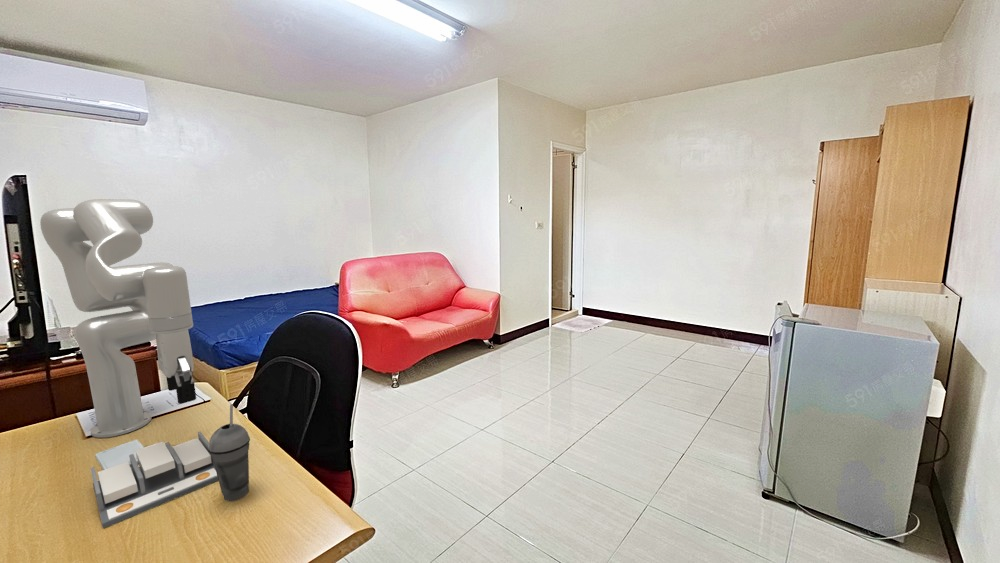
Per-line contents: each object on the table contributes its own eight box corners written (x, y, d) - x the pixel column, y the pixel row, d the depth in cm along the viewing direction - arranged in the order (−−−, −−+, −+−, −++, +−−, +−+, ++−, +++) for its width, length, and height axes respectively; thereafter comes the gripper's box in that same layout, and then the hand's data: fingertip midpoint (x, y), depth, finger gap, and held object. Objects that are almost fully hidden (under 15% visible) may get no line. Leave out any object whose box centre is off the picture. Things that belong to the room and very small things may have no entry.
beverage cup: (219, 488, 90) (207, 401, 87) (258, 479, 93) (248, 395, 89) (212, 510, 83) (198, 417, 80) (253, 499, 86) (242, 409, 83)
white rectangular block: (137, 460, 95) (135, 450, 94) (164, 451, 98) (163, 441, 98) (146, 482, 87) (144, 470, 87) (175, 471, 91) (174, 460, 90)
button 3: (173, 456, 100) (172, 446, 99) (198, 447, 104) (197, 437, 103) (185, 476, 92) (184, 465, 92) (212, 466, 96) (210, 455, 96)
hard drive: (94, 453, 102) (106, 472, 94) (137, 438, 108) (152, 454, 101) (95, 459, 102) (107, 478, 95) (138, 444, 108) (153, 461, 101)
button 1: (99, 483, 90) (97, 472, 90) (130, 472, 94) (128, 461, 94) (105, 507, 83) (103, 495, 82) (138, 494, 87) (136, 483, 86)
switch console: (93, 487, 91) (89, 467, 90) (202, 448, 105) (200, 430, 105) (103, 528, 79) (98, 506, 78) (224, 477, 93) (222, 458, 93)
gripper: (142, 318, 95) (153, 389, 98) (158, 334, 84) (170, 413, 87) (182, 312, 101) (192, 379, 104) (202, 326, 89) (212, 401, 92)
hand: (182, 394), depth 95 cm, fingers open, 9 cm apart
